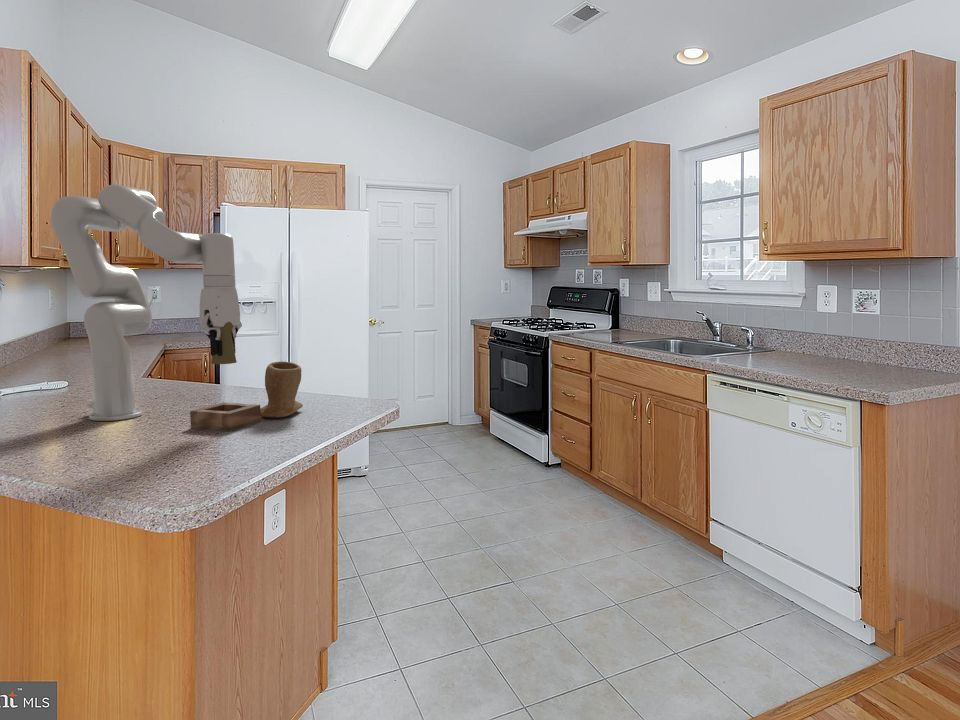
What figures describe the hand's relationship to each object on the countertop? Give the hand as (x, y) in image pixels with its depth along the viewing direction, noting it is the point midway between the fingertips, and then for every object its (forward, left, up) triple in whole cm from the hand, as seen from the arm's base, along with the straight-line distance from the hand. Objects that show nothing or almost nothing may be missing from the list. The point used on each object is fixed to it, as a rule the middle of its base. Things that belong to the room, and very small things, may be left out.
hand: (223, 353), depth 158 cm
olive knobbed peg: (0, 0, -2) cm, 2 cm away
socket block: (0, 0, -19) cm, 19 cm away
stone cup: (+6, +15, -19) cm, 25 cm away
